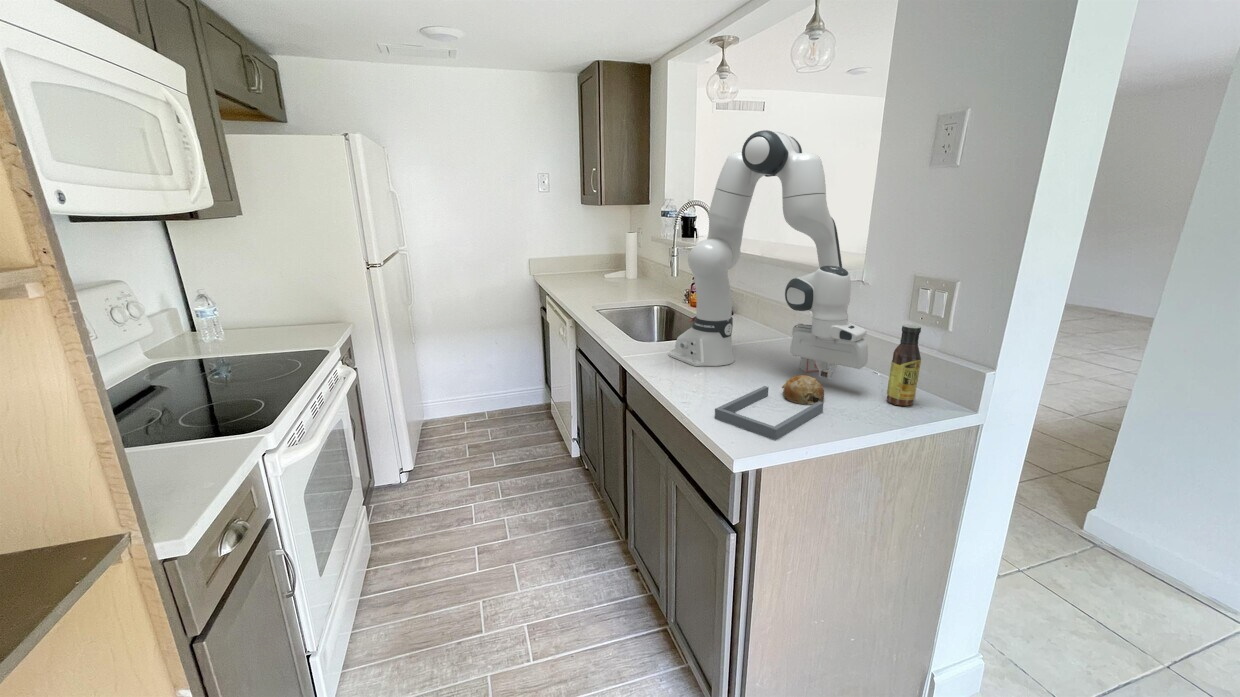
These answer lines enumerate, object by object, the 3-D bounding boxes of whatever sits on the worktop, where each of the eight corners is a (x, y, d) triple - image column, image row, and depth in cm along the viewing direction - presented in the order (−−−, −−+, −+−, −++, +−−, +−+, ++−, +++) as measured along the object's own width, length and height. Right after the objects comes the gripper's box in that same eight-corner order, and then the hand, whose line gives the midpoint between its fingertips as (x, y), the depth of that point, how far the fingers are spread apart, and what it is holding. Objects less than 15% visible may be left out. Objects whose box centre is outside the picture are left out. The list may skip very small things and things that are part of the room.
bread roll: (794, 418, 130) (806, 396, 124) (771, 390, 136) (781, 369, 131) (824, 411, 133) (836, 390, 128) (800, 384, 140) (811, 363, 135)
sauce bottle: (902, 409, 124) (913, 330, 119) (880, 400, 130) (889, 325, 124) (920, 404, 127) (932, 327, 121) (897, 395, 132) (907, 321, 127)
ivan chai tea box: (799, 368, 155) (802, 337, 153) (820, 366, 157) (823, 335, 154) (806, 372, 152) (808, 340, 149) (826, 370, 153) (829, 338, 150)
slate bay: (714, 418, 122) (715, 408, 122) (764, 394, 136) (764, 385, 135) (775, 440, 111) (776, 429, 110) (822, 412, 124) (823, 402, 123)
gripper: (787, 324, 141) (784, 371, 145) (862, 336, 126) (857, 388, 130) (798, 320, 145) (796, 366, 149) (873, 331, 130) (867, 382, 134)
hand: (825, 376), depth 139 cm, fingers closed
